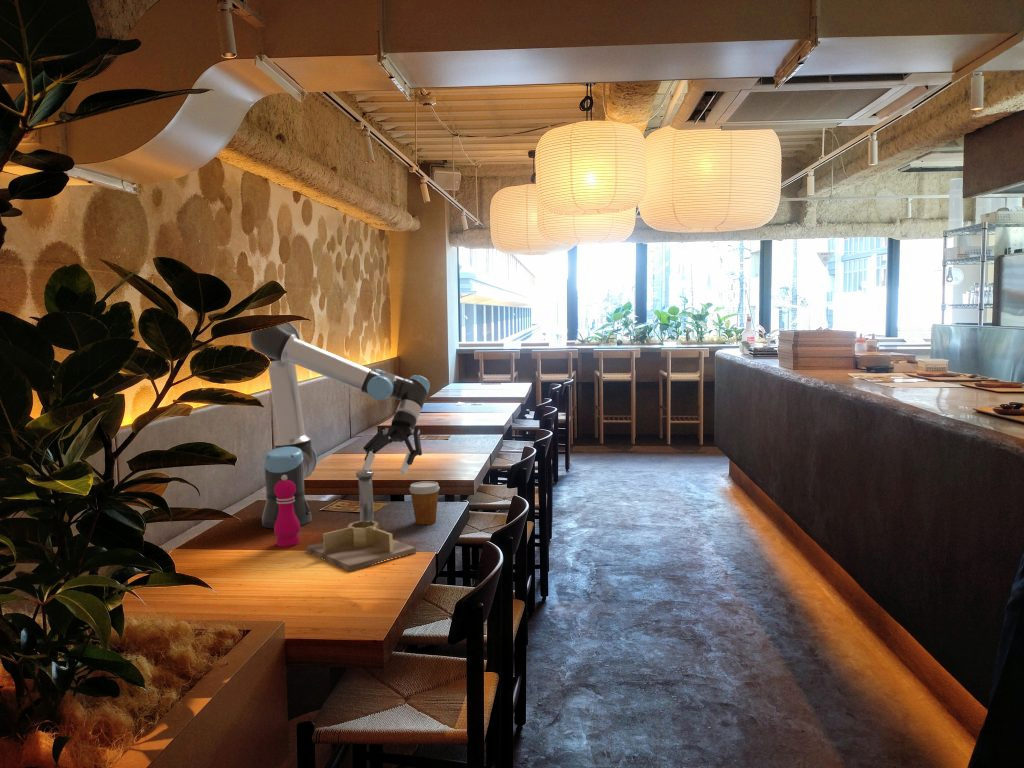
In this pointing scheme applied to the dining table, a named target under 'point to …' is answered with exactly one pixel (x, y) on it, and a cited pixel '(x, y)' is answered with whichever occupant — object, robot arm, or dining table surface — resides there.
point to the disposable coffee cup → (424, 501)
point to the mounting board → (359, 554)
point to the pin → (366, 495)
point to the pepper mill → (286, 514)
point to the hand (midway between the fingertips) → (383, 471)
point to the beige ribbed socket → (358, 537)
